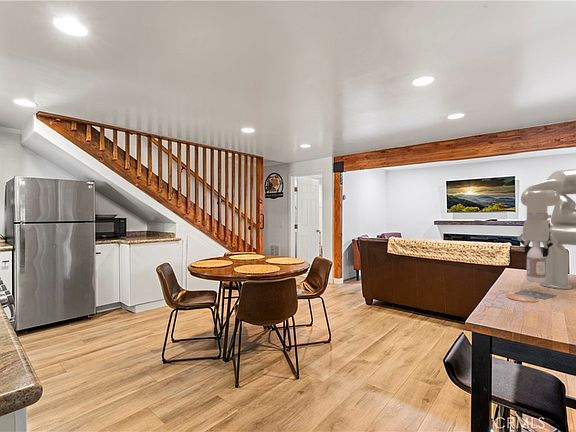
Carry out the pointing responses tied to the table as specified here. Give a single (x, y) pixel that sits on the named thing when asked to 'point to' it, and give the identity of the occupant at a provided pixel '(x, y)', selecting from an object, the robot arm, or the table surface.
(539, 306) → the table surface
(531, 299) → the flat salmon disc
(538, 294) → the tile
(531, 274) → the bath foam
